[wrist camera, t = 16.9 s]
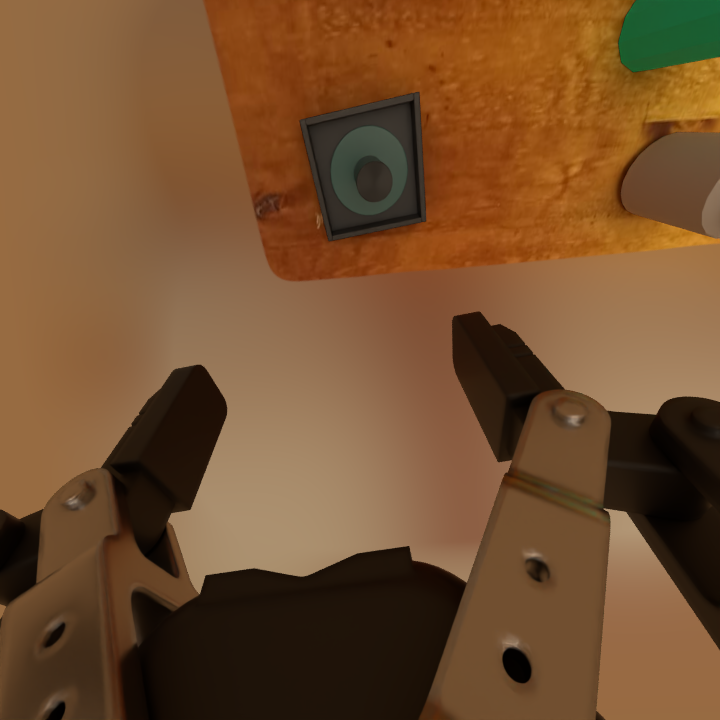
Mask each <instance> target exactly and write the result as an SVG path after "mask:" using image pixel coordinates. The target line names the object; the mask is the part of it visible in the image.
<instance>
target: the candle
mask: <svg viewBox="0 0 720 720" xmlns="http://www.w3.org/2000/svg"><path fill="white" fill-rule="evenodd" d="M618 45H619V51H620V57H621V63H622V64H624V65H625V66H626V67H627V68H628V69H630V70H631V71H632V72H638V71H645V70H652V69H657V68H662V67H668V66H673V65H678V64H684V63H689V62H695V61H700V60H705V59H711V58H716V57H720V0H636V1H635V2H634V4H633V6H632V7H631V9H630V10H629V12H628V13H627V15H626V17H625V20H624V23H623V27H622V31H621V34H620V38H619V42H618Z"/></svg>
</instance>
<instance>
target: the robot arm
mask: <svg viewBox="0 0 720 720" xmlns="http://www.w3.org/2000/svg"><path fill="white" fill-rule="evenodd" d="M452 337H453V338H452V341H453V364H454V368H455V372H456V375H457V377H458V379H459V381H460V383H461V386H462V388H463V390H464V392H465V394H466V396H467V398H468V400H469V402H470V405H471V407H472V409H473V411H474V413H475V415H476V417H477V419H478V421H479V423H480V426H481V428H482V429H483V432H484V434H485V436H486V438H487V440H488V442H489V444H490V446H491V449H492V451H493V453H494V455H495V457H496V459H497V461H498V462H503V461H509V460H512V463H511V465H510V468H509V471H508V473H505V475H504V477H503V480H502V482H501V485H500V488H499V491H498V494H497V497H496V500H495V502H494V506H493V508H492V511H491V514H490V517H489V520H488V523H487V526H486V529H485V532H484V535H483V538H482V541H481V544H480V547H479V549H478V552H477V556H476V558H475V561H474V564H473V567H472V570H471V573H470V576H469V579H468V582H467V583H466V582H465V581H463V580H462V579H460V578H458V577H457V576H455V575H454V574H452V573H450V572H448V571H445V570H444V569H442V568H439V567H437V566H434V565H430V564H427V563H424V562H418V561H413V560H412V557H411V552H410V548H409V546H407V547H399V548H392V549H386V550H378V551H371V552H365V553H358V554H355V555H353V556H351V557H348V558H346V559H344V560H342V561H340V562H337V563H335V564H333V565H331V566H328V567H326V568H324V569H322V570H319V571H318V572H315V573H313V574H311V575H308V576H304V577H298V576H293V575H287V574H282V573H276V572H271V571H266V570H260V569H246V570H239V571H233V572H226V573H219V574H212V575H206V576H205V579H204V583H203V586H202V590H201V593H200V595H199V594H198V592H197V591H196V590H195V588H194V587H193V585H192V583H191V581H190V578H189V575H188V572H187V569H186V566H185V563H184V560H183V556H182V553H181V550H180V547H179V544H178V541H177V538H176V534H175V531H174V528H173V526H172V525H171V524H170V523H169V522H168V519H169V517H170V515H171V513H175V512H181V511H187V510H190V509H191V507H192V504H193V502H194V499H195V497H196V494H197V491H198V489H199V486H200V484H201V481H202V478H203V476H204V473H205V471H206V468H207V465H208V463H209V460H210V457H211V455H212V452H213V450H214V447H215V445H216V442H217V440H218V437H219V434H220V432H221V429H222V426H223V424H224V421H225V419H226V416H227V405H226V401H225V399H224V397H223V395H222V394H221V392H220V390H219V389H218V387H217V386H216V384H215V383H214V381H213V379H212V378H211V376H210V375H209V373H208V372H207V370H206V369H205V368H204V367H203V366H202V365H194V366H189V367H184V368H178V369H175V370H173V372H172V373H171V374H170V376H169V377H168V379H167V380H166V382H165V383H164V385H163V386H162V388H161V389H160V390H159V391H157V392H156V393H155V394H154V395H153V396H152V397H151V398H150V399H148V401H147V402H146V404H145V405H144V407H143V408H142V409H141V411H140V412H139V415H138V416H137V417H136V418H135V419H134V421H133V422H132V427H129V428H128V430H127V431H126V432H125V434H124V435H123V437H122V438H121V440H120V441H119V443H118V444H117V445H116V447H115V448H114V450H113V451H112V453H111V454H110V456H109V457H108V458H107V460H106V461H105V463H104V464H103V466H102V467H101V468H97V469H92V470H89V471H86V472H84V473H82V474H80V475H78V476H77V477H75V478H74V479H72V480H70V481H69V482H68V483H66V484H65V485H64V486H62V487H61V488H60V489H59V490H58V491H57V492H56V493H55V494H54V495H53V496H52V498H51V499H50V500H49V501H48V503H47V504H46V506H45V507H44V509H42V510H40V511H38V512H35V513H33V514H30V515H28V516H26V517H23V518H21V519H17V518H16V517H14V516H12V515H10V514H9V513H7V512H5V511H3V510H0V604H1V605H5V606H7V607H6V608H5V611H4V613H3V616H2V618H1V619H0V720H605V719H604V718H603V717H602V716H601V715H600V714H599V713H598V712H597V711H596V706H597V693H598V680H599V667H600V654H601V641H602V629H603V617H604V604H605V591H606V578H607V565H608V553H609V540H610V515H609V513H608V512H607V511H605V510H604V509H603V508H606V509H612V510H618V511H625V512H627V514H628V515H629V517H630V518H631V519H632V521H633V523H634V524H635V526H636V527H637V528H638V530H639V531H640V533H641V534H642V536H643V537H644V539H645V540H646V542H647V543H648V545H649V546H650V548H651V549H652V551H653V552H654V554H655V555H656V557H657V558H658V560H659V561H660V562H661V564H662V565H663V567H664V568H665V570H666V571H667V573H668V574H669V575H670V577H671V579H672V580H673V581H674V583H675V585H676V586H677V588H678V589H679V590H680V592H681V593H682V595H683V596H684V598H685V599H686V601H687V602H688V604H689V605H690V607H691V608H692V610H693V611H694V613H695V614H696V616H697V617H698V618H699V620H700V621H701V623H702V624H703V626H704V627H705V629H706V630H707V632H708V633H709V635H710V636H711V638H712V639H713V641H714V642H715V643H716V645H717V647H718V648H719V649H720V402H718V401H714V400H710V399H706V398H699V397H677V398H672V399H670V400H668V401H666V402H664V404H663V405H662V406H661V407H660V409H659V411H658V413H657V414H656V415H652V414H639V413H625V412H613V411H607V410H606V409H605V408H604V407H603V406H602V405H601V404H599V403H598V402H597V401H596V400H594V399H593V398H591V397H589V396H587V395H584V394H582V393H578V392H575V391H570V390H565V389H564V388H563V387H562V386H561V384H560V383H559V382H558V381H557V380H556V379H555V378H554V376H553V375H552V374H551V373H550V372H549V371H548V369H547V368H546V367H545V366H544V365H543V364H542V363H541V361H540V360H539V359H538V358H537V357H536V355H533V352H532V351H531V350H530V349H529V347H528V346H527V345H525V343H524V342H523V341H522V339H521V338H520V337H519V336H518V335H517V333H516V332H514V331H512V330H510V329H508V328H507V327H504V326H503V325H501V324H498V325H493V326H491V325H490V324H489V323H488V321H487V320H486V319H485V317H484V316H483V315H482V314H481V312H473V313H468V314H463V315H457V316H454V317H453V320H452Z"/></svg>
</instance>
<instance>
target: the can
mask: <svg viewBox="0 0 720 720" xmlns="http://www.w3.org/2000/svg"><path fill="white" fill-rule="evenodd" d="M621 199H622V204H623V205H624V207H625V209H626V210H627V211H629V212H631V213H633V214H635V215H638V216H642V217H645V218H649V219H652V220H655V221H659V222H662V223H665V224H669V225H672V226H675V227H679V228H682V229H686V230H689V231H692V232H696V233H699V234H702V235H706V236H709V237H713V238H720V133H701V132H676V133H673V134H670V135H666V136H664V137H662V138H660V139H659V140H657V141H655V142H654V143H652V144H651V145H650V146H649V147H647V148H646V149H645V150H644V151H643V152H642V153H641V154H640V155H639V156H638V157H637V159H636V160H635V161H634V163H633V164H632V165H631V167H630V168H629V170H628V172H627V174H626V176H625V178H624V181H623V185H622V189H621Z"/></svg>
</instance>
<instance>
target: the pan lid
mask: <svg viewBox="0 0 720 720" xmlns="http://www.w3.org/2000/svg"><path fill="white" fill-rule="evenodd" d="M330 173H331V182H332V186H333V189H334V191H335V193H336V195H337V197H338V199H339V200H340V201H341V203H342V204H343V205H344V206H345V207H347V208H348V209H349V210H351V211H353V212H355V213H357V214H361V215H376V214H379V213H382V212H384V211H386V210H387V209H389V208H390V207H391V206H393V205H394V204H395V203H396V201H397V200H398V199H399V198H400V196H401V194H402V192H403V190H404V188H405V185H406V181H407V175H408V164H407V158H406V154H405V151H404V149H403V147H402V145H401V143H400V142H399V140H398V139H397V138H396V137H395V136H394V135H393V134H392V133H391V132H389V131H388V130H386V129H384V128H382V127H379V126H373V125H367V126H361V127H358V128H356V129H354V130H352V131H350V132H349V133H347V134H346V135H345V136H344V137H343V138H342V140H341V141H340V142H339V144H338V145H337V147H336V149H335V151H334V154H333V157H332V161H331V169H330Z"/></svg>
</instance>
